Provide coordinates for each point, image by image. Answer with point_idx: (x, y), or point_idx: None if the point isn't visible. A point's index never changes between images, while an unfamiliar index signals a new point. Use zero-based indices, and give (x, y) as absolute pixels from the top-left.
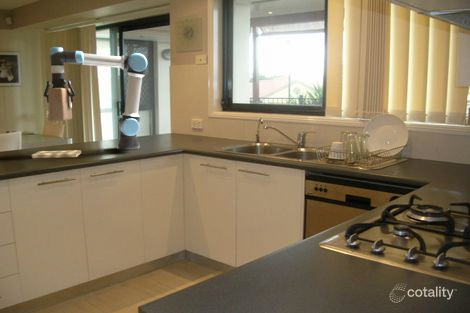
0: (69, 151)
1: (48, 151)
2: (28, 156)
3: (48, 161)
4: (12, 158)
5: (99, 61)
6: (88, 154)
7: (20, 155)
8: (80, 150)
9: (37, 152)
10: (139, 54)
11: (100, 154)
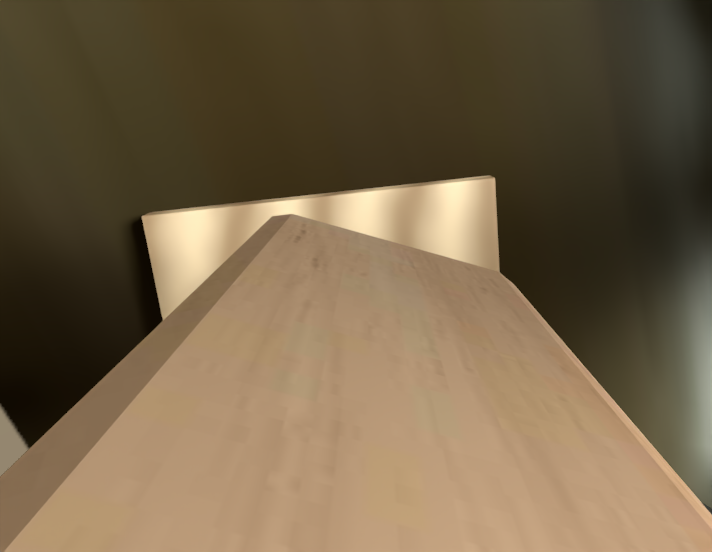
0: (413, 245)
1: (227, 228)
2: (114, 307)
3: None
4: (45, 389)
5: None
6: (567, 246)
7: (21, 250)
8: (495, 192)
9: (159, 279)
10: None
11: (667, 255)
